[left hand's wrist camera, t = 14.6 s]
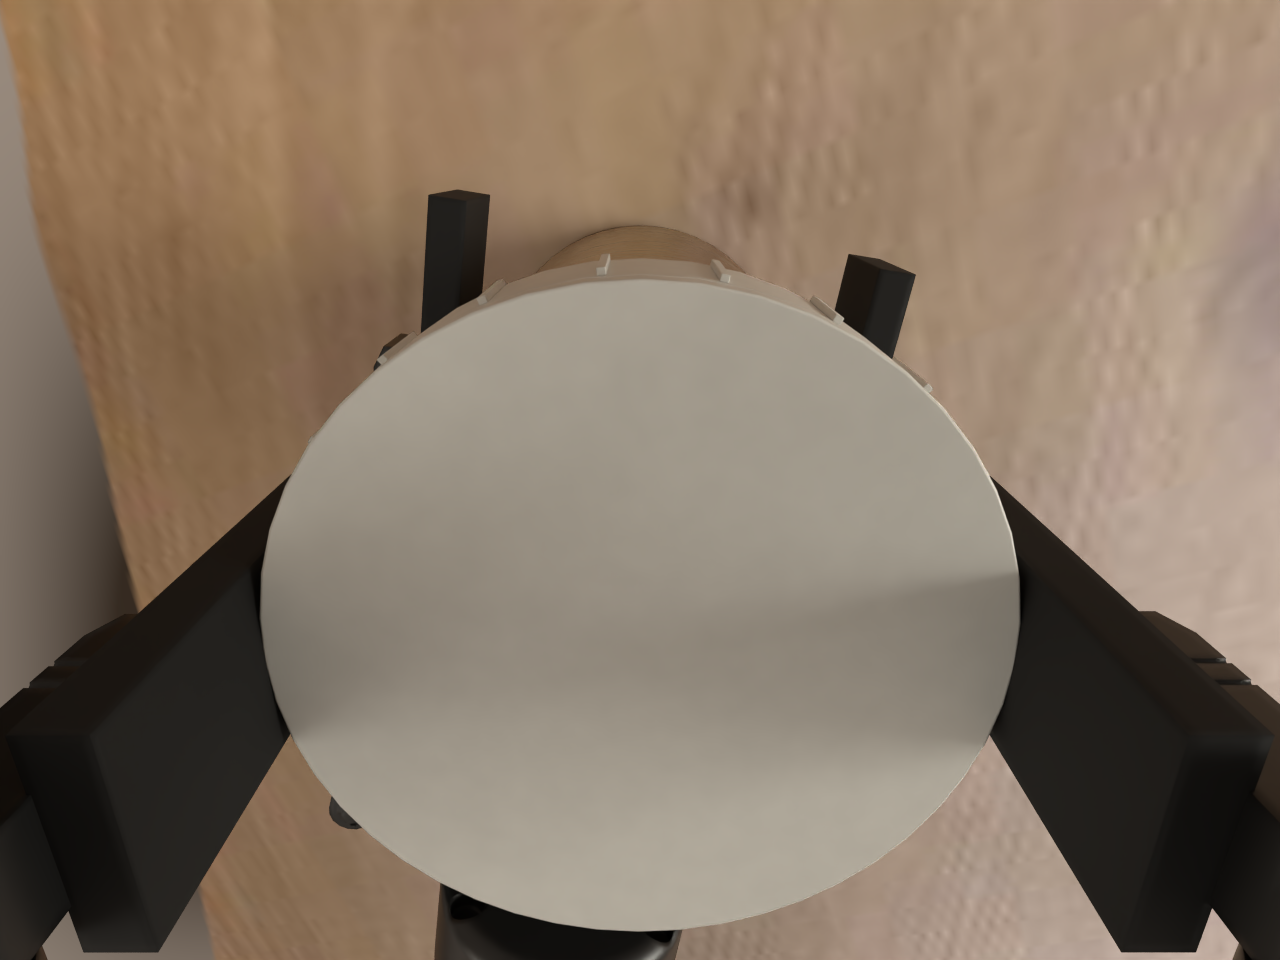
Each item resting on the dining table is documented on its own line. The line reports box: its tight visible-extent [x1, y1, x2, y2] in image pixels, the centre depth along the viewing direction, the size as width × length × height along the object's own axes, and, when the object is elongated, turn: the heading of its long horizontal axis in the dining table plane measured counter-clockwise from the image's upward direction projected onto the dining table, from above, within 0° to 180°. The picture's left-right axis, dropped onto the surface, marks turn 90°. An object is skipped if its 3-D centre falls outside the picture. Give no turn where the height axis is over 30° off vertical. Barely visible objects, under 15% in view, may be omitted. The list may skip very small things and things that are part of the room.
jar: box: [535, 226, 746, 274], centre depth 18 cm, size 8×8×15 cm
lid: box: [260, 253, 1021, 931], centre depth 11 cm, size 10×10×2 cm
